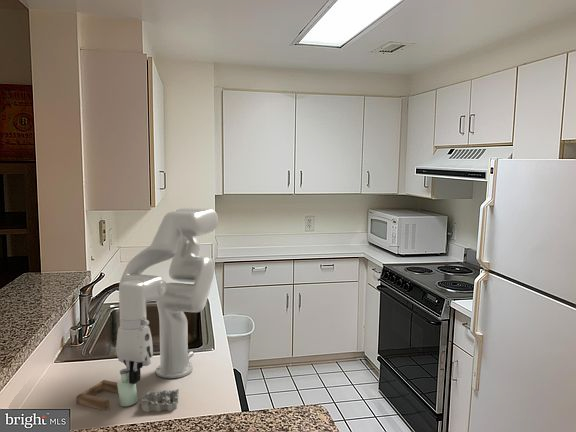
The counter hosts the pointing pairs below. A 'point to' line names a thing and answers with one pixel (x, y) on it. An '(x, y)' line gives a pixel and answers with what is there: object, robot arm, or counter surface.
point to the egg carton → (155, 396)
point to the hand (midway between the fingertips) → (134, 381)
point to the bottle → (126, 389)
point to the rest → (96, 402)
